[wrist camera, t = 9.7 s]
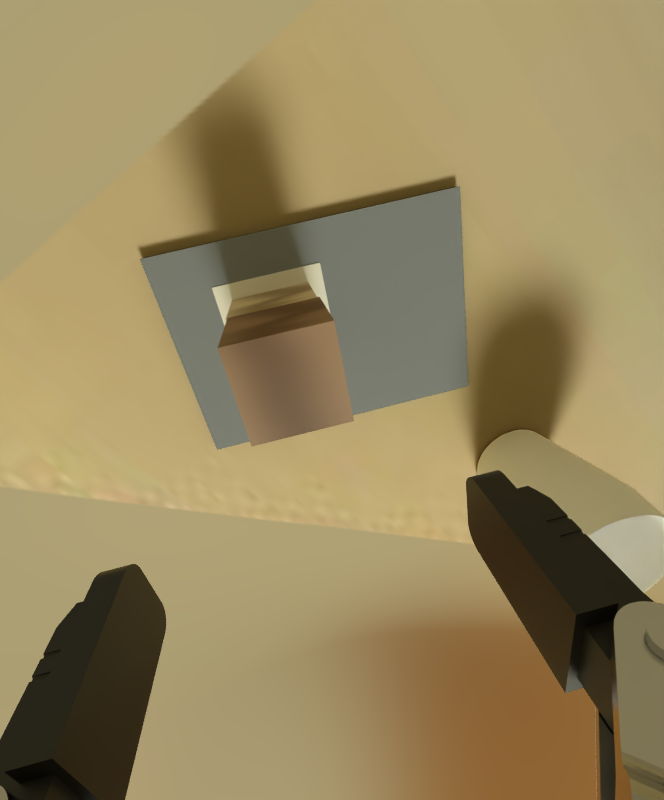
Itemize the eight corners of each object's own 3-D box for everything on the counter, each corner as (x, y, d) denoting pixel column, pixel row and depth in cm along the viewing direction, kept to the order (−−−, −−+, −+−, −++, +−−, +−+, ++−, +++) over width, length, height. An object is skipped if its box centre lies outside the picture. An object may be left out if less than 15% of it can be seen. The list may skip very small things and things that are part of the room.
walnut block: (319, 296, 21) (334, 320, 17) (336, 380, 23) (354, 420, 19) (227, 318, 21) (217, 348, 16) (254, 400, 23) (251, 446, 19)
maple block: (308, 282, 25) (317, 297, 21) (324, 353, 28) (335, 381, 23) (232, 299, 25) (225, 319, 21) (254, 370, 28) (252, 401, 23)
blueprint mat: (455, 186, 25) (460, 186, 24) (464, 382, 31) (468, 386, 31) (142, 258, 24) (139, 259, 23) (218, 445, 30) (217, 450, 30)
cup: (454, 440, 34) (542, 548, 23) (553, 400, 34) (688, 491, 23) (473, 513, 38) (555, 632, 27) (561, 478, 38) (679, 585, 27)
